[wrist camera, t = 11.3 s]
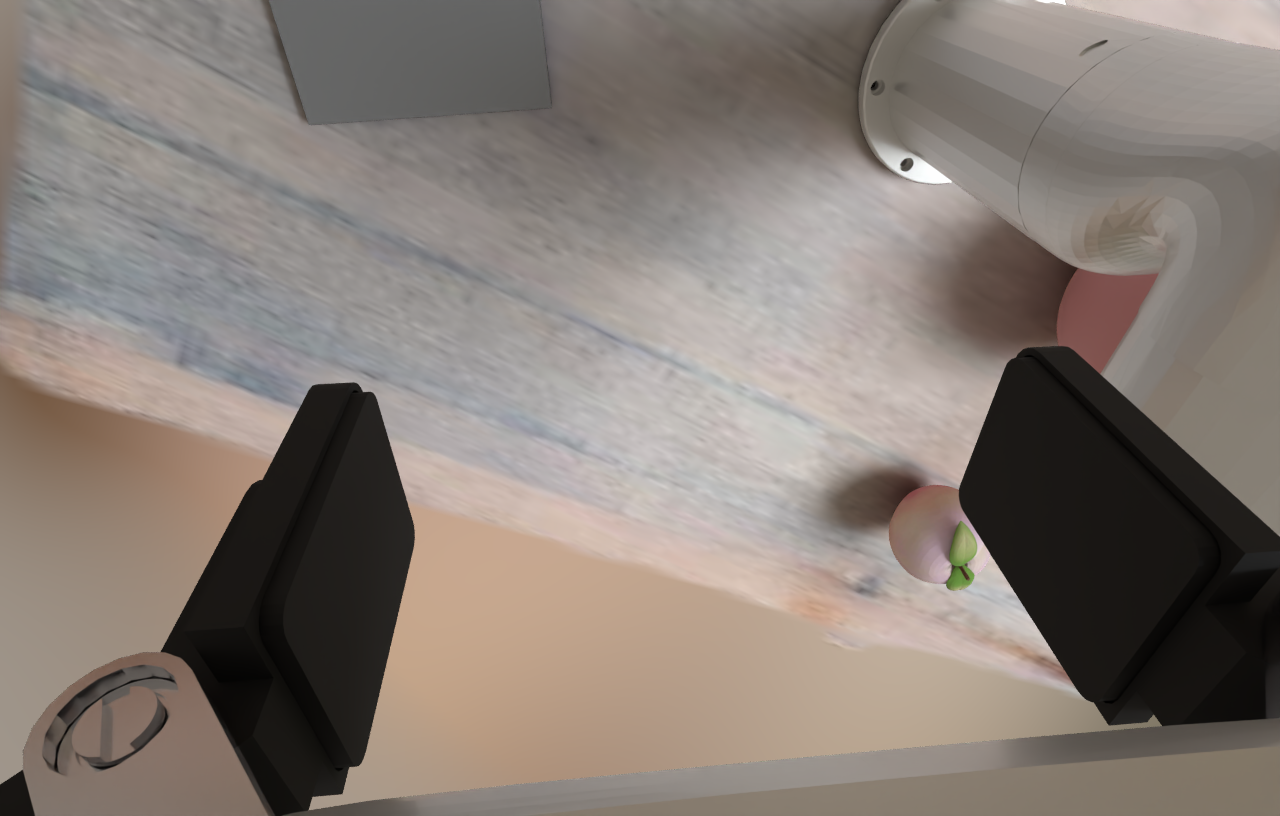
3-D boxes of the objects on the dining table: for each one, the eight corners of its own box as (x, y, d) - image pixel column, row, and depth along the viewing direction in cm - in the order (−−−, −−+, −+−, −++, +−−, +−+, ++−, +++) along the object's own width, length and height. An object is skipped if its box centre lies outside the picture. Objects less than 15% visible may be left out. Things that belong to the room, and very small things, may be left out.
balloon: (1114, 406, 60) (1256, 536, 48) (974, 302, 52) (1102, 428, 40) (1286, 269, 53) (1503, 381, 41) (1154, 125, 45) (1377, 212, 33)
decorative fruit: (862, 480, 63) (907, 565, 55) (949, 447, 61) (1008, 530, 54) (881, 540, 68) (925, 626, 60) (962, 511, 67) (1018, 595, 59)
